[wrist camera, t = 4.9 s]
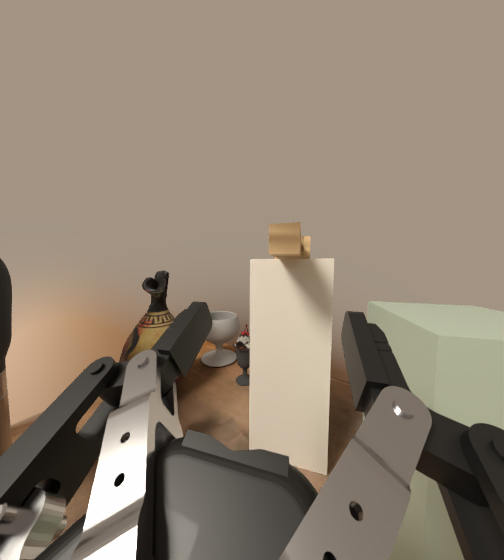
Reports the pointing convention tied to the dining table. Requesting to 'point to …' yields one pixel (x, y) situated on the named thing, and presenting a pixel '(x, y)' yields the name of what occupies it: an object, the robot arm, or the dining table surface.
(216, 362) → the chalice
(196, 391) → the dining table surface
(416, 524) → the green tall block
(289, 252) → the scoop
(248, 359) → the sundae
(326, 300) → the tall stand
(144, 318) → the ceramic jug
